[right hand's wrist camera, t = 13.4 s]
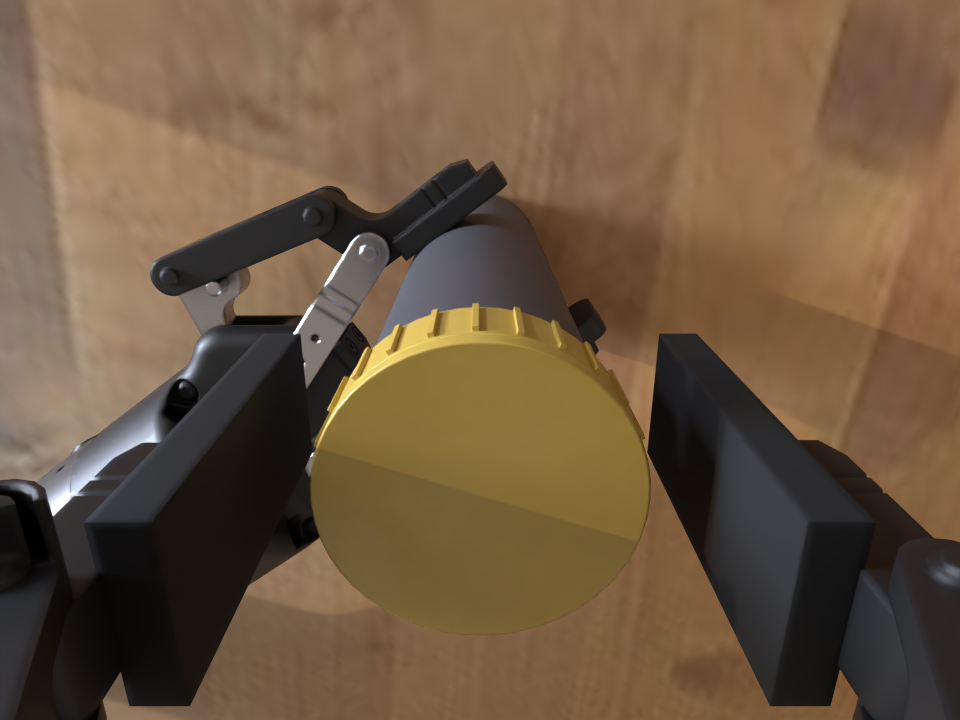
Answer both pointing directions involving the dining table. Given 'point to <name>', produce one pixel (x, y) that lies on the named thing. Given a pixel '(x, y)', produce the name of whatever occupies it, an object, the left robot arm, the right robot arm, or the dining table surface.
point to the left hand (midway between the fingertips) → (547, 246)
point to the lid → (480, 473)
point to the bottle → (482, 271)
